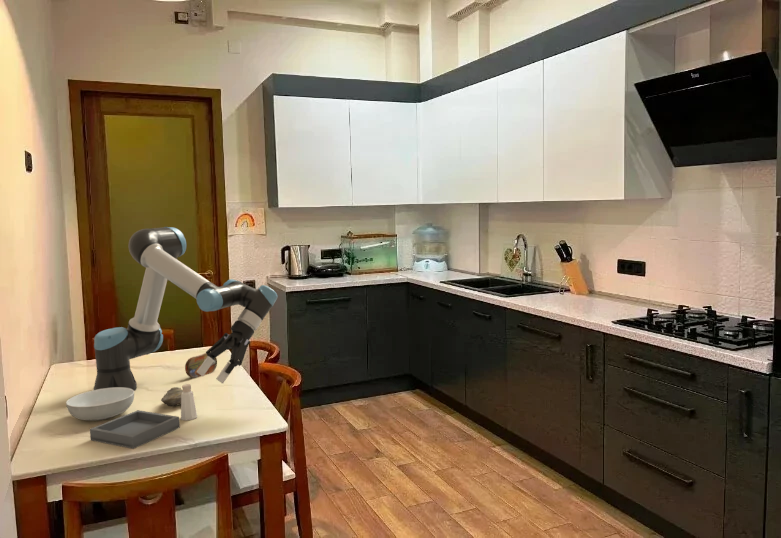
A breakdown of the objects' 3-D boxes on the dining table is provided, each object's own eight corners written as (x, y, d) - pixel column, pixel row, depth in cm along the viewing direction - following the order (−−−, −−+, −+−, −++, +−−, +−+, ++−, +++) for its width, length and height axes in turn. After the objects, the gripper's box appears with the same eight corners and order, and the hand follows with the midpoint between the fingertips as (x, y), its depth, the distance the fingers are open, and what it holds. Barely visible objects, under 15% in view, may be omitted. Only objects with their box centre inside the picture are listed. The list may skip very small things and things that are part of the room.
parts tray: (90, 440, 188) (89, 429, 188) (138, 420, 204) (137, 410, 204) (133, 448, 180) (132, 437, 180) (179, 427, 196) (179, 416, 196)
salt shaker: (184, 415, 208) (182, 382, 207) (200, 414, 207) (197, 382, 206) (177, 420, 202) (174, 387, 201) (193, 420, 202) (191, 387, 201)
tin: (189, 380, 250) (188, 359, 249) (184, 379, 252) (182, 358, 251) (218, 370, 263) (217, 351, 262) (213, 369, 265) (211, 350, 264)
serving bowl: (104, 403, 224) (102, 385, 223) (149, 409, 216) (147, 389, 215) (52, 423, 205) (50, 403, 204) (100, 430, 197) (98, 408, 196)
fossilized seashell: (199, 396, 222) (190, 380, 220) (181, 415, 213) (172, 399, 211) (177, 399, 226) (168, 383, 224) (158, 418, 218) (149, 402, 215)
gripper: (272, 336, 210) (236, 390, 201) (234, 327, 228) (199, 377, 219) (258, 323, 206) (220, 378, 197) (220, 315, 224) (184, 365, 215)
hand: (209, 377), depth 208 cm, fingers open, 13 cm apart
